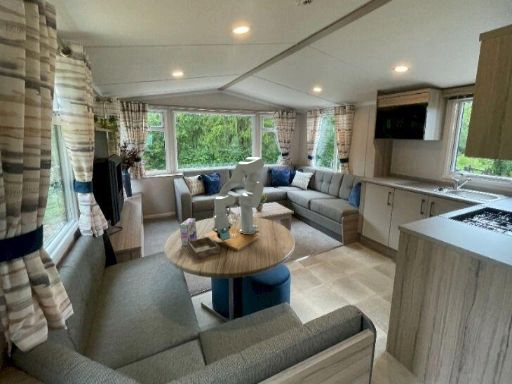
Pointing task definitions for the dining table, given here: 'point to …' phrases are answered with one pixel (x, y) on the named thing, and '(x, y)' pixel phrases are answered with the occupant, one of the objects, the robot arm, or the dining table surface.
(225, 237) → the small crate
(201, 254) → the big crate
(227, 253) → the dining table surface
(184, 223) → the candy box
